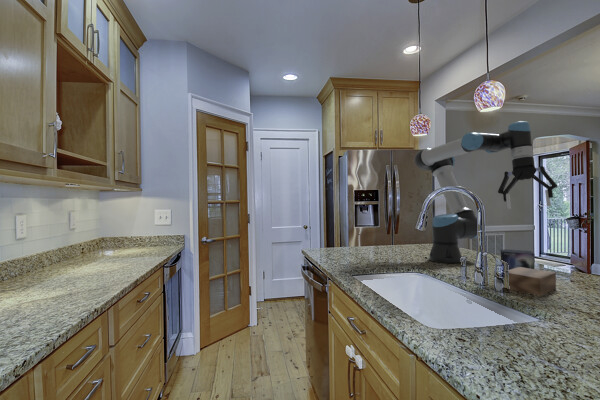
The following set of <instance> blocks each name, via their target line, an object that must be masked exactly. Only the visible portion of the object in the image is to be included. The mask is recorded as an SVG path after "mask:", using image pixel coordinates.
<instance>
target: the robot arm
mask: <svg viewBox="0 0 600 400" xmlns="http://www.w3.org/2000/svg"><path fill="white" fill-rule="evenodd" d="M507 128H508V129H507V130H506V131H503V132H502V133H498V134H496V133H487V132H486V133H484V132H475V131H474V132H468V133H467V132H466V133H465V134H464V135H463V136H462V137H461V138H459V139H455V140H452V141H450V142H447V143H443V144H440V145H439V146H438V145H437V146H436V147H433V148H429V147H427V148H424V149H420V150H419V151H417V153H416V154H415V155H414V159H413V160H414V164H415V166H416V168H418V169H420V170H422V171H430V172H431V175H432V177H434V178H436V179H437V183H438V185H439V187H440V189H441V188H442V187H446V186H459V183H458V182H457V179H456V177H455V175H454V173H453V170H454V167H455V161H456V159H455V157H457V156H461V155H465V154H468V153H469V154H470V153H472V152H476V151H485V152H486V153H488V154H493V153H498V152H501V151H504V150H508V149H510V155H511V159H512V160H511V163H512V164H511V165H512V171H504V173H503V174H504V176H503V179H502V182H501V184H500V186H499V187H498V190H497V193H498V194H502V195H503V201H504V202H506V208H507V210H512V204H511V203H512V202H511V195H510V191H511V190H512V189H513V188H514V186H515V185H516V184H517V183H518V181H526V180H531V179H533V180H535V181H536V182H537V183H538V184H539V185H542V186H543V187H544V188H545V192H544V194H545V199H546V201H545V202H546V207H551V206H552V205H551V199H552V198H553V196H554V194H553V190H554V189H556V188H558V184H557V183H556V182H555V181H554V179H553V178H552V177H551V176H550V174H549V173H547V171H546V167H545V166H542V165H541V166H539V167H536V166H535V158H534V152H533V150H534V149H533V144H532V131H531V127H530V123H529V121H526V120H525V121H523V120H522V121H521V120H519V121H516V122H515V121H514V122H512V123H510V124H509V125H507ZM537 171H538V172H539V173H541V174H542V175H543V177H544V178H545V179H546V180H547V182H548V183H550V185H549V184H548V183H546V182H545V181H544V180H542V179H541V178H539V177H538V176H537V175H535V174H536V172H537ZM511 176H513V178H512V180H511V181H510V183H508V181H509V179H510V177H511ZM507 184H508V185H507ZM442 194H443V196H444V198H445V199H444V200H446V204H447V206H448V209H449V211H450V213H447V214H444V213H443V214H437V215H435V216H434V217H433V218H432V224H431V225H432V247H431V250H430V252H429V255H428V258H429V260H430V261H431V262H436V263H443V264H461V263H460V258H461V257H462V258H463V256H462V253H461V250H460V247H459V240H468V239H469V240H472V239H477V238H478V237H477V216H478V215H475V212H474V210H473V209H471V208H469V207H468V204H467V202H466V200H465V198H464V195H463V193H462V192H461V193H459V192H452V191H450V192H446V193H443V192H442Z"/></svg>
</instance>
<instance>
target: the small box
mask: <svg viewBox="0 0 600 400" xmlns="http://www.w3.org/2000/svg"><path fill="white" fill-rule="evenodd" d="M535 259H536V257H535V253H534V252H533V251H532V250H519V249H504V248H500V261H501V260H503V261H505V262H507V263H508V265H509V270H510V269H514V268H517V267H523V268H530V269H535Z"/></svg>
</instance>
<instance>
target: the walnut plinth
mask: <svg viewBox="0 0 600 400" xmlns="http://www.w3.org/2000/svg"><path fill="white" fill-rule="evenodd" d="M556 278H557V273H556V272H555V271H548V270H543V269H535V268H534V269H530V268H523V267H517V268H514V269H510V270H509V286H510V290H509V291H512V290H516V291H515V292H517V291H520V292H519V293H522V292H525V293H524V294H526V293H530V294H529V295H531V294H535V295H534V296H536V295H539V296H538V297H542V296H544V295H546V293H547V294H549V293H551V292H552V290H553V291H555V290H556V289H557V288H556V287H557V279H556ZM554 289H555V290H554ZM550 291H551V292H550ZM548 292H549V293H548ZM543 294H544V295H543ZM541 295H542V296H541Z"/></svg>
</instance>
